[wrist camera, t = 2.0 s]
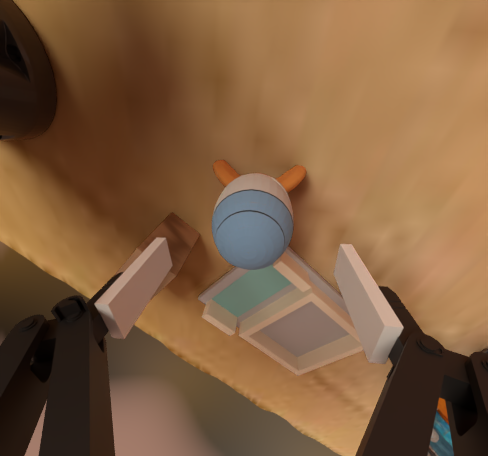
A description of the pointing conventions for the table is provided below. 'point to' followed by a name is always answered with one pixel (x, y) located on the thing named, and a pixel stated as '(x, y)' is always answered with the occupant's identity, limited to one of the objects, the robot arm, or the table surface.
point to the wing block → (169, 246)
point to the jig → (284, 313)
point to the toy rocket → (253, 216)
